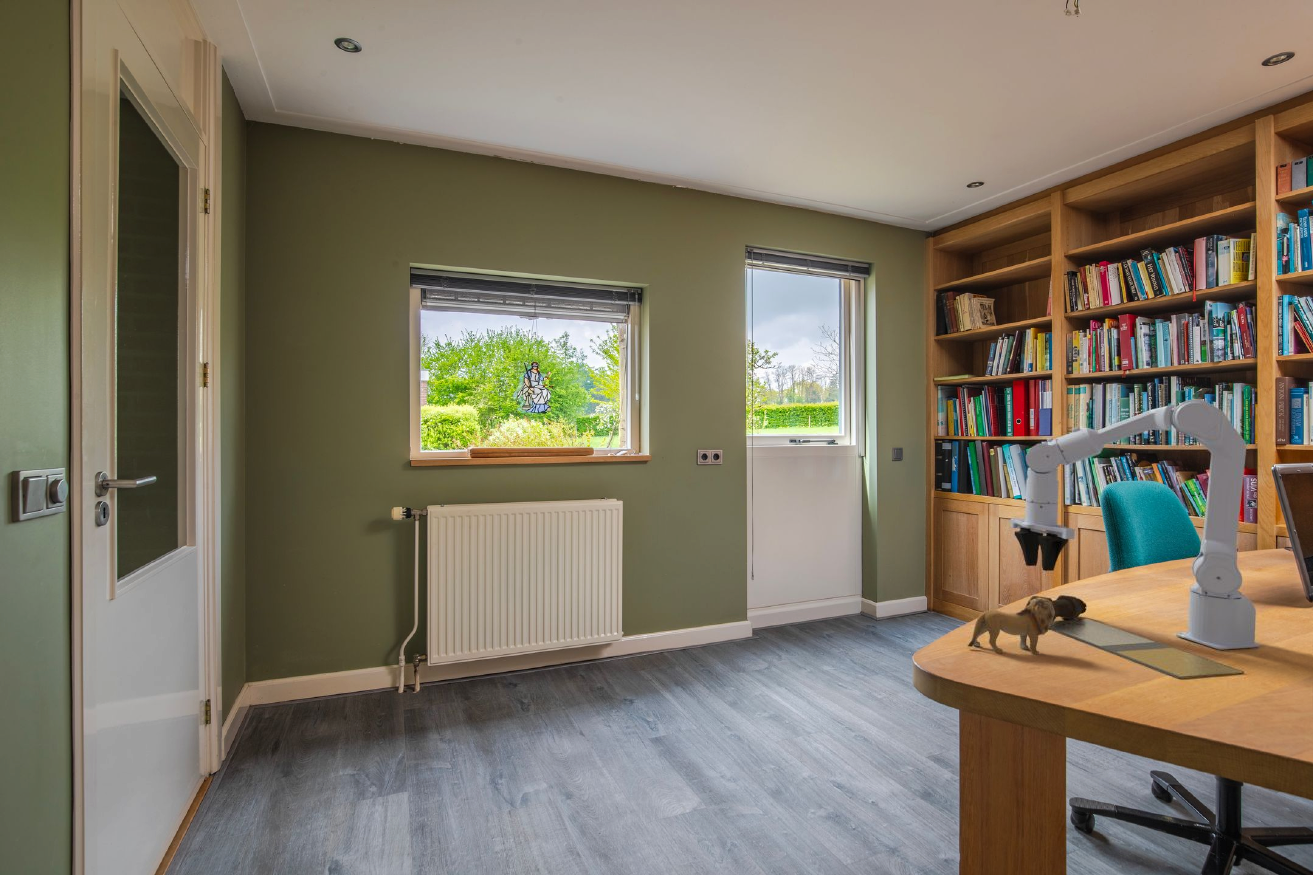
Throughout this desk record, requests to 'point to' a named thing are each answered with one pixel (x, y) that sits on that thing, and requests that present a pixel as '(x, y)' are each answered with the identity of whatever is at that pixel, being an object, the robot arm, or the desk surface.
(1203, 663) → the flat rectangular plate
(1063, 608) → the bolt
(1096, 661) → the desk surface
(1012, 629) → the lion figurine
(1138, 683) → the desk surface
